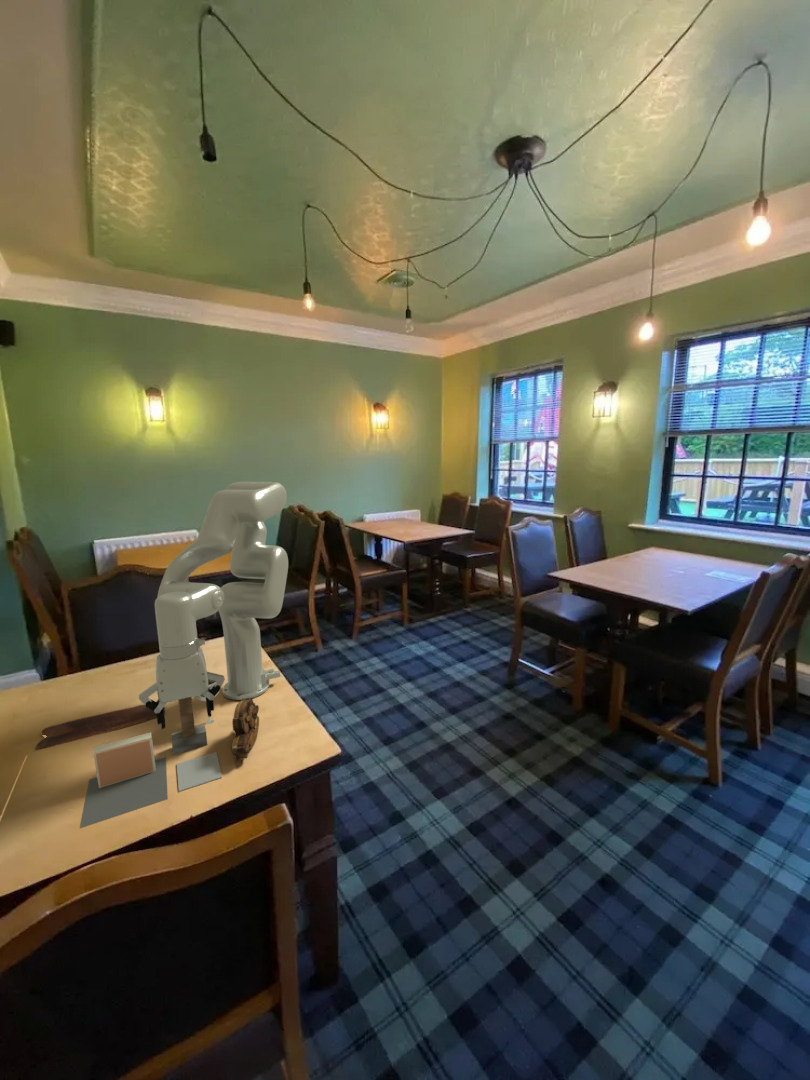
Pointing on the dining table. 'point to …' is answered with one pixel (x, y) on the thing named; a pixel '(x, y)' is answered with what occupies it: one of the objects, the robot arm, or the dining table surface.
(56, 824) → the dining table surface
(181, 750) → the brown grey t-shaped piece
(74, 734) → the wooden tablet
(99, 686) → the dining table surface
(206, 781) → the pad
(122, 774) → the tile
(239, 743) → the wooden carving
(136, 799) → the rubber mat
